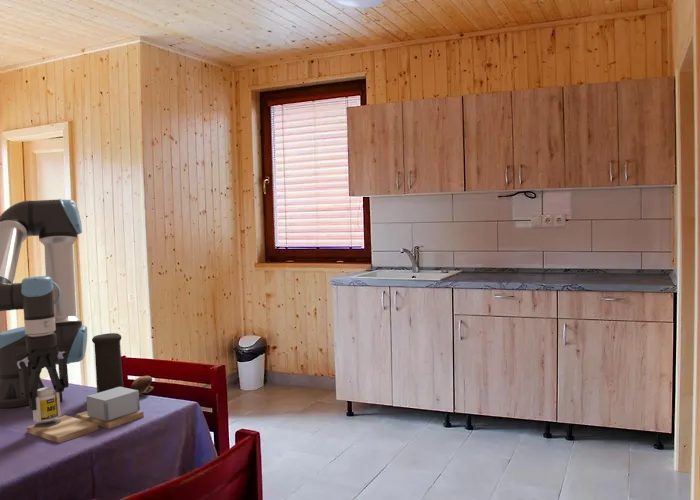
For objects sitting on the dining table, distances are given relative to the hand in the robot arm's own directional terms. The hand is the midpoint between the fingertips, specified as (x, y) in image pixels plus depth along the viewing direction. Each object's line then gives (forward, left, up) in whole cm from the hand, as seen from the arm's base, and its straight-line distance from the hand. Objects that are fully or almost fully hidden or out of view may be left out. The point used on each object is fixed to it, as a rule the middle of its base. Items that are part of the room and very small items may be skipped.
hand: (47, 417), depth 172 cm
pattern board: (+7, +14, -3) cm, 16 cm away
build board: (+5, +1, -3) cm, 6 cm away
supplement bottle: (0, 0, -1) cm, 1 cm away
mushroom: (-6, +34, -3) cm, 35 cm away
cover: (+10, +14, -1) cm, 17 cm away
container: (-14, +28, -3) cm, 31 cm away
